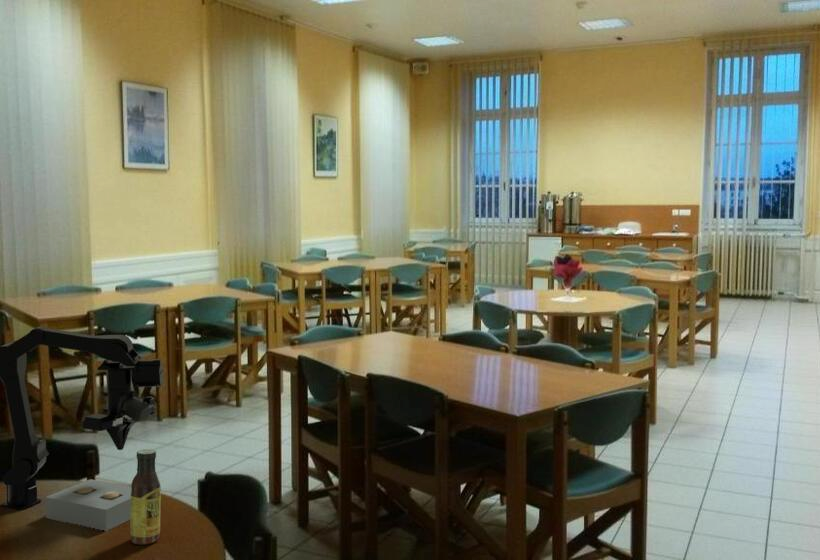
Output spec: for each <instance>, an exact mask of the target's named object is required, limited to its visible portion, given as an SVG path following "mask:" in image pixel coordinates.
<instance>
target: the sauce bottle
mask: <svg viewBox="0 0 820 560" xmlns="http://www.w3.org/2000/svg"><path fill="white" fill-rule="evenodd" d="M156 459H157V451H156V450H155V449H152V448H146V449H140V450H138V451H136V460H137V466H136V467H137V468H136V471H137V472H136V474H135V476H134V477H133V479H132V481H131V486H130V487H131V511H130V520H129V521H130V523H129V524H130V525H129V535H130V541H131V543H133V544H135V545H140V546H144V545H150V544H153V543H156V542H157V541H158V540H159V538H160V533H161V503H162V502H161V499H162V498H161V495H162V494H161V491H162V486H161V483H160V480H159V477H158V474H157V471H156Z"/></svg>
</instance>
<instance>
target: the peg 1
mask: <svg viewBox="0 0 820 560" xmlns="http://www.w3.org/2000/svg"><path fill="white" fill-rule="evenodd" d="M92 491H93V487H89V486H85V487H80V488H78V489H77V493H78V494H83V495H86V494H89V493H91V492H92Z"/></svg>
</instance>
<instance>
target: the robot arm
mask: <svg viewBox="0 0 820 560" xmlns="http://www.w3.org/2000/svg"><path fill="white" fill-rule="evenodd" d="M39 346H47V347H48V346H49V347H54V348H59V349H66V350H74V351H79V352H84V353H85V352H86V353H89V354H92V355H95V356H97V357H98V358H101V359H102V360H103V359H104V360H103V361H102V363H101V364H100V365H99V366H97V367H96V368H97V371H106V372H105V373H106V391H103V392H102V396H103V397H106V407H104V408H103V411H102V412H103V413H104V414H102V413H93V414H91V415H87V416H85V417H84V418H83V419H82V429H84V430H92V431H97V432H102V431H106V432H107V433H108V435H109V437H110V438H111V441H113V444H114V446H115V447H116V449H117V450H119V451H122V450H124V448H125V445H126V441H127V439H128V435H129V433H130V430H131V428H132V427H133V426H134V425H136V423H138V422H142V420H148V419H149V418H150V416H151V415H154V414H155V410H156V408H155V407H156V398H155V397H153V396H147V397H145V398H142V397H141V398H139V397H137V396H138V395H137V392H136V390H133V389H132V388H133V387H132V385H133V384H134V385H136V386H137V387H138V388H151V387H152V388H154V387H155V388H156V387H157V388H158V387H161V388H162V387H163V385H164V382H165V379H164V377H165V370H164V366H163V364H162V358H154V359H142V356H141V355H140V354H139V353H138V352H137V351H136V350H135V348H134V344H133V341H132V340H131V338H130V337H129V336H127V335H125V334H103V335H93V334H86V333H80V332H74V331H67V330H60V329H55V328H49V327H46V326H38V327H35V328H33V329H31V330H30V331H29V332H28V333H27V334H25V335H23V336H22V337H20V338H18V339H17V340H15V341H11V342H8V343H5V344H3V345H1V346H0V380H1V381H2V383H3V385H4V391H5V397H6V402H7V407H8V412H9V417H10V421H11V422H10V423H11V426H12V432H13V437H14V445H13V450H12V467H11V469H9V470H8V471H7V472H6V473H5V474H4V475H3V476H2V478H1V479H2V481H3V484H4V485H5V486H6V501H5V502H2V503H0V504H1V506H2V507H6V508H10V509H15V510H24V509H27V508H29V507H30V506H33V505H36V504H39V503H41V502H42V499H41V498H38V485H37V478H35V475H37V474H38V471H39V470H40V469H41V468H42V467H43V466H44V464H45V463H46V461H47V456H49V455H50V453H49V451H48V449H47V441H46V439H45V438H42V439H39V437H38V436H37V434H36V431H35V427H34V422H33V417H32V411H31V406H30V401H29V396H28V389H27V386H26V379H25V375H26V371H27V366H28V365H27V364H28V362H27V359H28V358H27V356H28V355H27V354H29V353H30V352H32V351H34V349H37V348H38V347H39ZM132 382H133V384H132Z"/></svg>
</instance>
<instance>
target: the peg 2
mask: <svg viewBox="0 0 820 560" xmlns="http://www.w3.org/2000/svg"><path fill="white" fill-rule="evenodd" d="M118 497H119V492H107V493H104V494H103V498H104V499H107V500H114V499H116V498H118Z"/></svg>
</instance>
